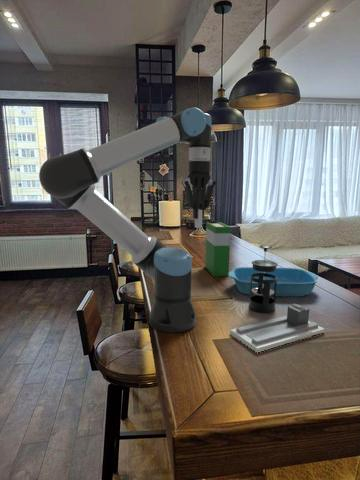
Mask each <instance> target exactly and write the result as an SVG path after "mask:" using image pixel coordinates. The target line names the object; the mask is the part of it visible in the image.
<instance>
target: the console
mask: <svg viewBox="0 0 360 480" xmlns="http://www.w3.org/2000/svg"><path fill="white" fill-rule="evenodd" d="M322 332H324V333H325V328H323V327H321V326H319V323H316V322H315V321H309V320H308V323H306V324H303V325H299V326H294V325H292V324H290V323H288V322H287V315H283V316H279V317H275V318H271V319H267V320H263V321H259V322H254V323H251V324H247V325H243V326H242V325H241V326H240V327H235V328H231V329H230V331H229V333H230V334H229V335H231V336H232V337H233V338H235V339H236V340H238V342H240V341H241V342H240V343H241V344H243V345H244V344H245V345H244V346H246V347H247V346H248V349H250V348H251V349H252V350H251V349H250V350H251V351H253V350H254V351H255V352H254V351H253V352H254V353H256V352H257V353H256V354H259V353H258V352H260V353H262V352H261V351H264V350H267V349H270V348H273V347H276V346H279V345H283V344H285V343H289V342H292V341H295V340H297V339H301V338H304V337H307V336H311V335H314V334H318V333H322ZM270 350H271V349H270ZM267 351H268V350H267ZM264 352H265V351H264Z"/></svg>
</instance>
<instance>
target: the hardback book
mask: <svg viewBox="0 0 360 480" xmlns="http://www.w3.org/2000/svg"><path fill="white" fill-rule="evenodd" d="M230 245H231V226H229V225H227V224H225V223H223V222H221V221H219V222H218V223H210V222H209V221H207V222H206V230H205V262H204V263H205V265H204V266H205V268H206V269H207V270H208V272H209V273H210V274H211V275H212V276H213V277H229V275H228V273H229V272H230V250H231V246H230Z"/></svg>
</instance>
